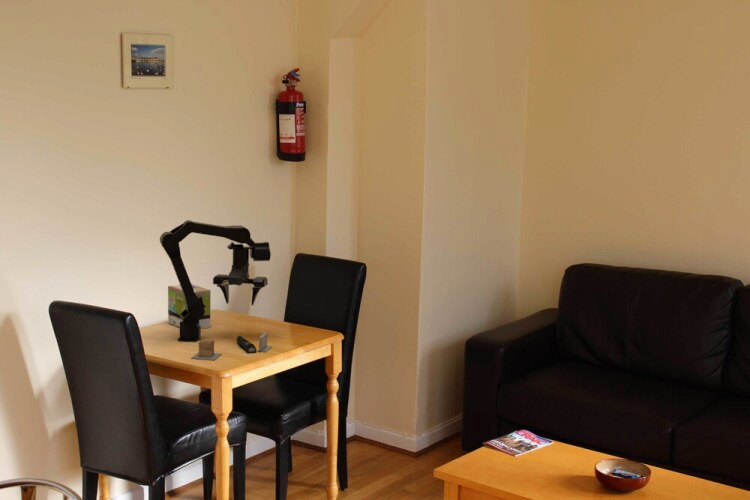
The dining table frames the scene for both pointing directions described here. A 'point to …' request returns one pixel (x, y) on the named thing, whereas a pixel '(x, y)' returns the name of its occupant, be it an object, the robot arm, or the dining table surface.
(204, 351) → the walnut block
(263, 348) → the gray angled bracket
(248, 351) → the electric trimmer
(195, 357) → the pad
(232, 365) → the dining table surface
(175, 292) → the tea box
